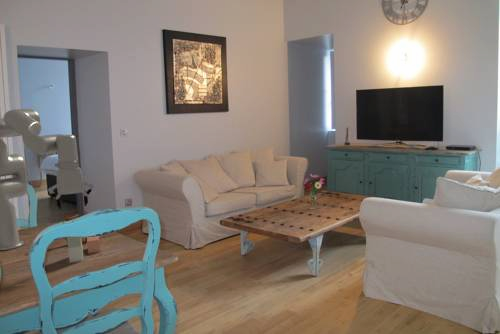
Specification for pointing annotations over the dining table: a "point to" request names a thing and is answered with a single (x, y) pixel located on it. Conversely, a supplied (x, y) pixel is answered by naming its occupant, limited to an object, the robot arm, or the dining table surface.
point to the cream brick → (76, 254)
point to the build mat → (77, 261)
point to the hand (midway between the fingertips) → (73, 206)
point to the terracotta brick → (93, 244)
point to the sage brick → (74, 242)
